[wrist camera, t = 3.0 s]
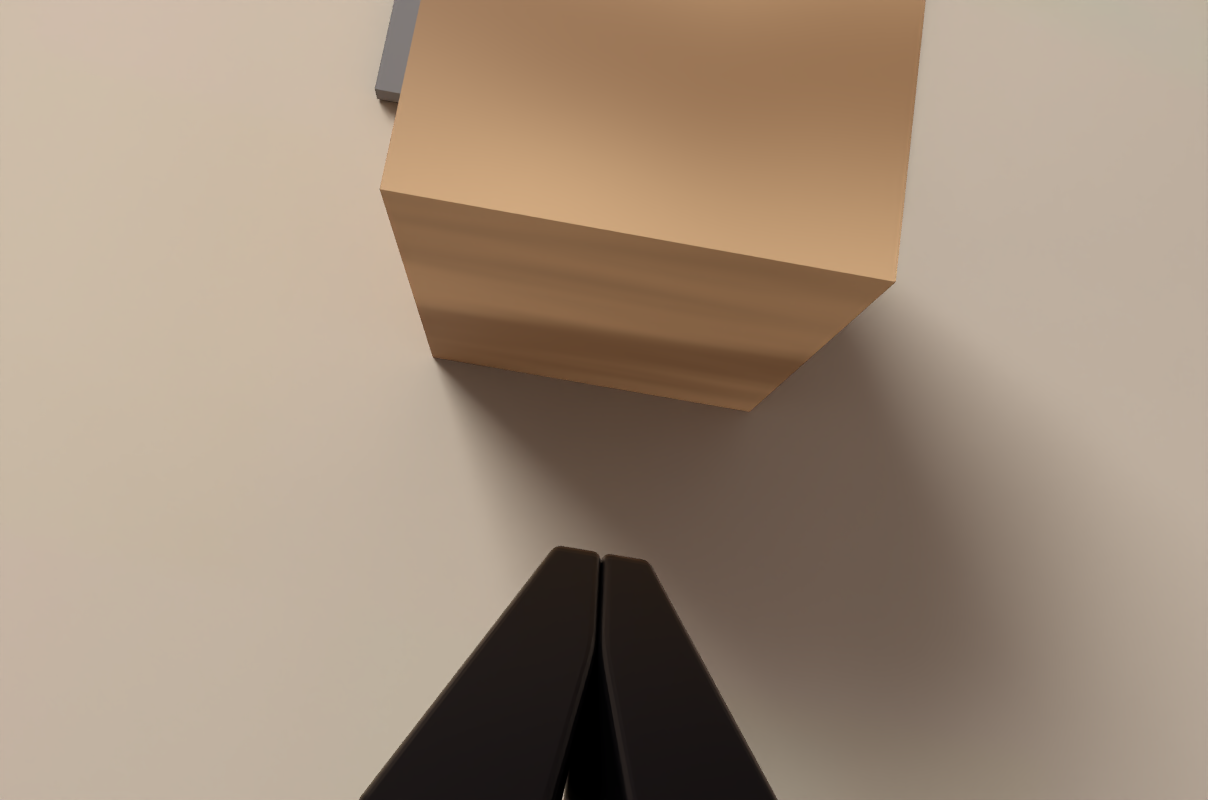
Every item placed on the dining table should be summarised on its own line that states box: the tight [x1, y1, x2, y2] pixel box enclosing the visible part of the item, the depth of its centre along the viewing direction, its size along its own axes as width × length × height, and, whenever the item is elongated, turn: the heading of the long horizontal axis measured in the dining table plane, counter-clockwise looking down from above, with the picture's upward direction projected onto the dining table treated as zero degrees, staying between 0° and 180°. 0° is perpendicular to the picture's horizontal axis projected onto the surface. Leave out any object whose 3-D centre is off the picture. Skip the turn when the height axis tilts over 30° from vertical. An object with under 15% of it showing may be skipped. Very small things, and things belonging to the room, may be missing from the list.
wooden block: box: [380, 0, 926, 412], centre depth 17 cm, size 4×6×8 cm
